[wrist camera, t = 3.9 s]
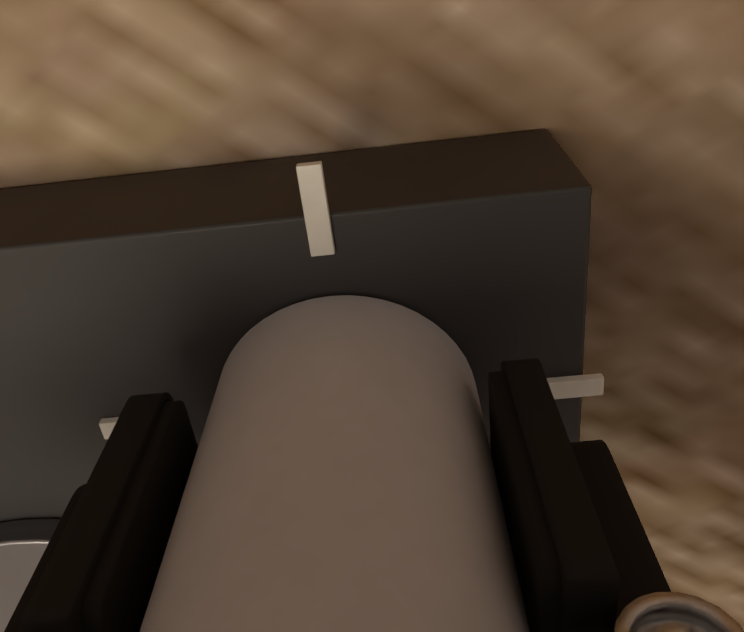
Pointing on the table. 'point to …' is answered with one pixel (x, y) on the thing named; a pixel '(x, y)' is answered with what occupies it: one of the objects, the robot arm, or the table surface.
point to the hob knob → (341, 486)
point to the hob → (274, 281)
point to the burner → (20, 559)
